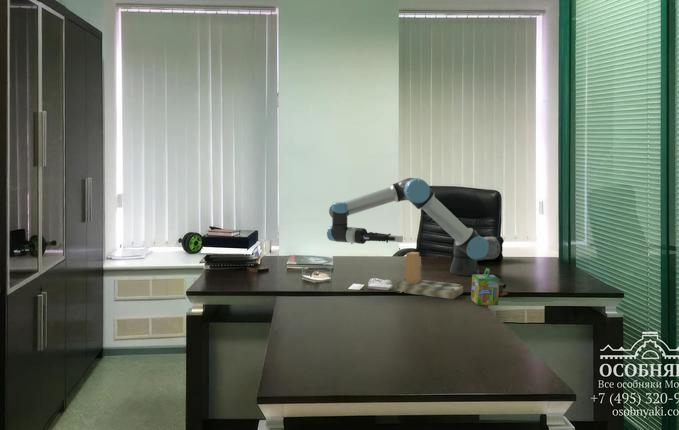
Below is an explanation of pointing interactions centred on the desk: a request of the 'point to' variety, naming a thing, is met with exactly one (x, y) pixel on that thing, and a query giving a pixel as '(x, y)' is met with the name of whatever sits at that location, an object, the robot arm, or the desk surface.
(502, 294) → the electronic device
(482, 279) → the chalk box
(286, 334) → the desk surface
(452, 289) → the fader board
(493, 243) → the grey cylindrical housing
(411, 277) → the tall orange upright pillar
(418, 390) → the desk surface
